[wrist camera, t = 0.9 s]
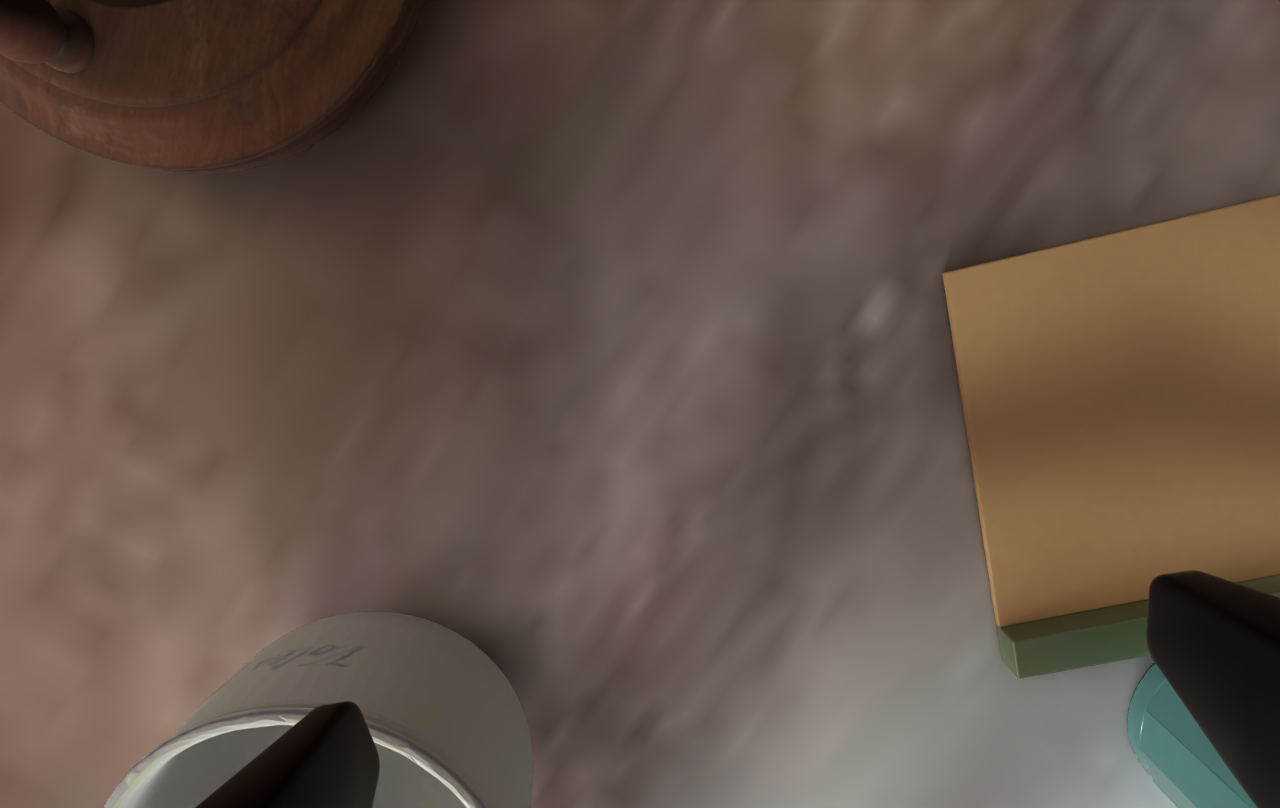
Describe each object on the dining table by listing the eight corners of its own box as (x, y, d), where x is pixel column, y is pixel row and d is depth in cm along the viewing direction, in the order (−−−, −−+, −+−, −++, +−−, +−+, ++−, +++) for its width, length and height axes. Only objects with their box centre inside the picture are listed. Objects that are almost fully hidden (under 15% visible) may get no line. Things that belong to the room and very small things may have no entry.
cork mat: (1437, 579, 23) (1479, 596, 21) (1000, 659, 24) (1018, 680, 23) (1427, 159, 20) (1474, 153, 19) (941, 273, 21) (957, 273, 20)
